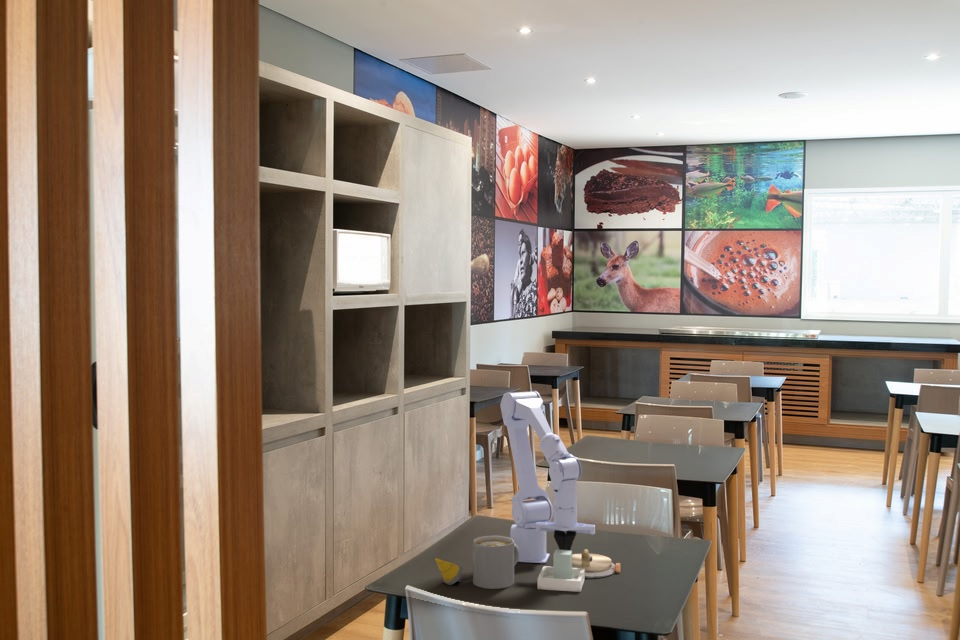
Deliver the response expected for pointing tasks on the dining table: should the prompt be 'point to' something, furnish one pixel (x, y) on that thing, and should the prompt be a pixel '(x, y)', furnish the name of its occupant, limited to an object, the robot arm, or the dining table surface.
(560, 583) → the tray
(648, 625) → the dining table surface
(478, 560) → the coffee mug
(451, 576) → the yellow and grey cone
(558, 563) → the block
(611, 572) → the crank base
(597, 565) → the crank
